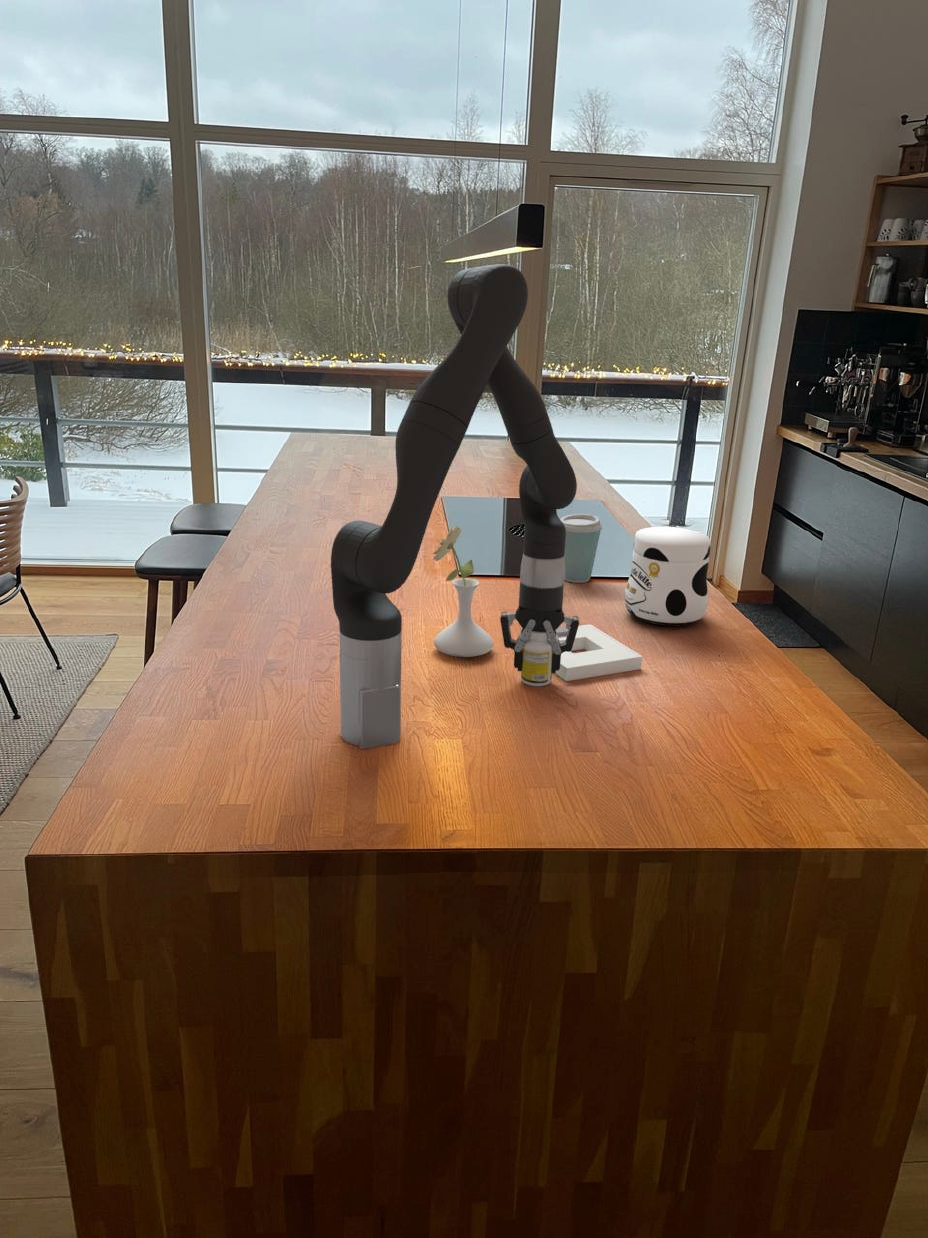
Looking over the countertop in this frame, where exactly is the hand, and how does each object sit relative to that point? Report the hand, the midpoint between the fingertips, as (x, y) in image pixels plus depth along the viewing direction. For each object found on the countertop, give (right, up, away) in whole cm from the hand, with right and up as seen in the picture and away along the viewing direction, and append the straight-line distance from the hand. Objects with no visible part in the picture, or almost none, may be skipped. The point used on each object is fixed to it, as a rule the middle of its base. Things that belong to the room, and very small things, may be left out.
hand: (536, 670), depth 167 cm
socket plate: (+9, +2, +12) cm, 15 cm away
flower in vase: (-14, +3, +12) cm, 19 cm away
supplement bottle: (0, -2, +1) cm, 2 cm away
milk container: (+30, +9, +35) cm, 47 cm away
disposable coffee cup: (+14, +18, +58) cm, 63 cm away
